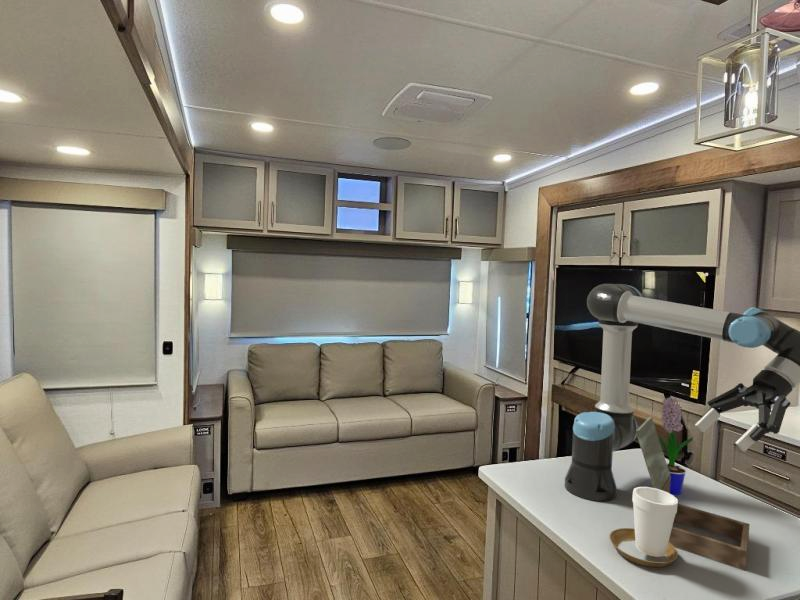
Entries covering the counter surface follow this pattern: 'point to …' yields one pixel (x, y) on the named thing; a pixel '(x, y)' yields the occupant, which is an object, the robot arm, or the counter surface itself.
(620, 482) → the counter surface
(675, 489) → the hyacinth
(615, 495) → the robot arm
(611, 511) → the counter surface
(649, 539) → the foam cup
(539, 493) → the counter surface
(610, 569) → the counter surface
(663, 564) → the plant saucer
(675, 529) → the cold frame
